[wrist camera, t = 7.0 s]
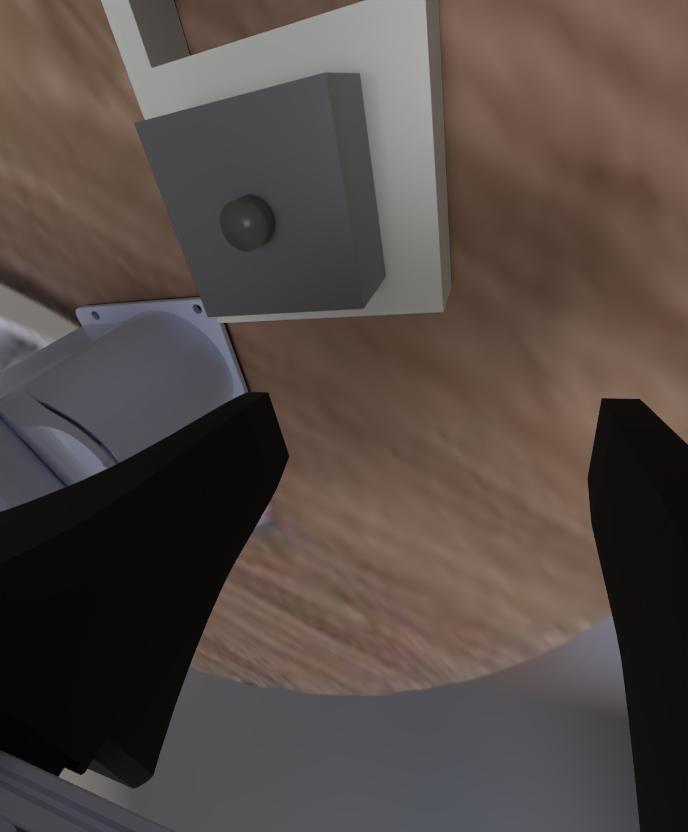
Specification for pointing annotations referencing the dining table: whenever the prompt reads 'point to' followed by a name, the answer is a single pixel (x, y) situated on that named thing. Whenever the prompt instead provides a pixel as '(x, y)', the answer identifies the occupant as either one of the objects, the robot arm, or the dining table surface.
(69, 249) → the dining table surface
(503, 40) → the dining table surface
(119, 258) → the dining table surface
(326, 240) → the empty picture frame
